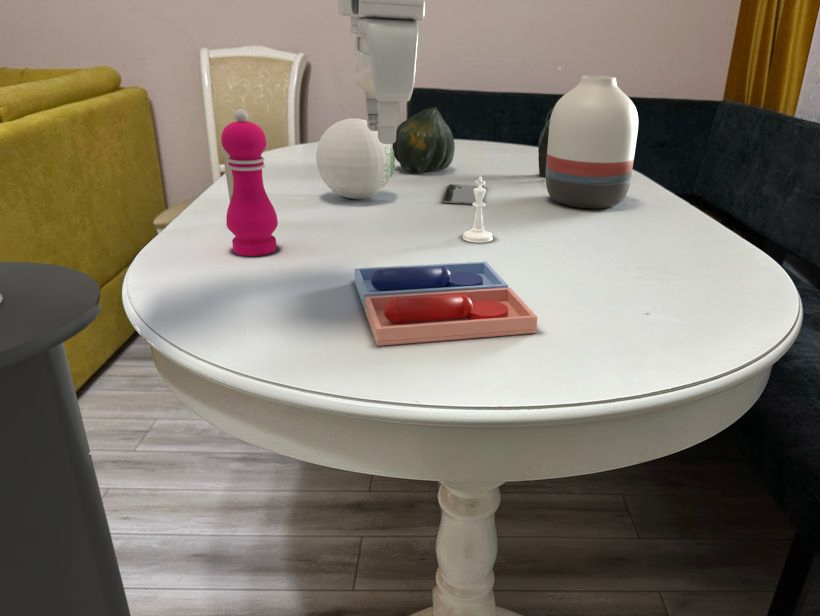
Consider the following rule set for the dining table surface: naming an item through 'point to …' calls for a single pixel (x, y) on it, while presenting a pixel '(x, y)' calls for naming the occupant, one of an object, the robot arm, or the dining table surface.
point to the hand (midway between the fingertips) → (380, 136)
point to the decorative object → (354, 159)
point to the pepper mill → (248, 189)
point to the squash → (424, 142)
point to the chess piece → (478, 218)
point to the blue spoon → (422, 278)
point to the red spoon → (442, 308)
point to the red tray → (451, 329)
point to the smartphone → (460, 194)
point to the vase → (591, 145)
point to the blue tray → (480, 268)
